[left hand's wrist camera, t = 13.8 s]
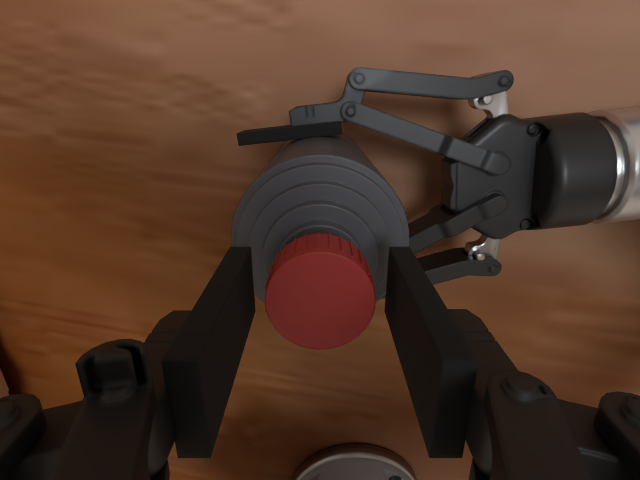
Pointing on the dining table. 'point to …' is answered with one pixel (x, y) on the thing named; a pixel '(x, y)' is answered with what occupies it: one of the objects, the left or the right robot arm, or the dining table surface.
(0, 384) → the squash
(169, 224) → the dining table surface
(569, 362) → the dining table surface
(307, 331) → the cap
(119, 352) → the left robot arm
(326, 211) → the bottle
